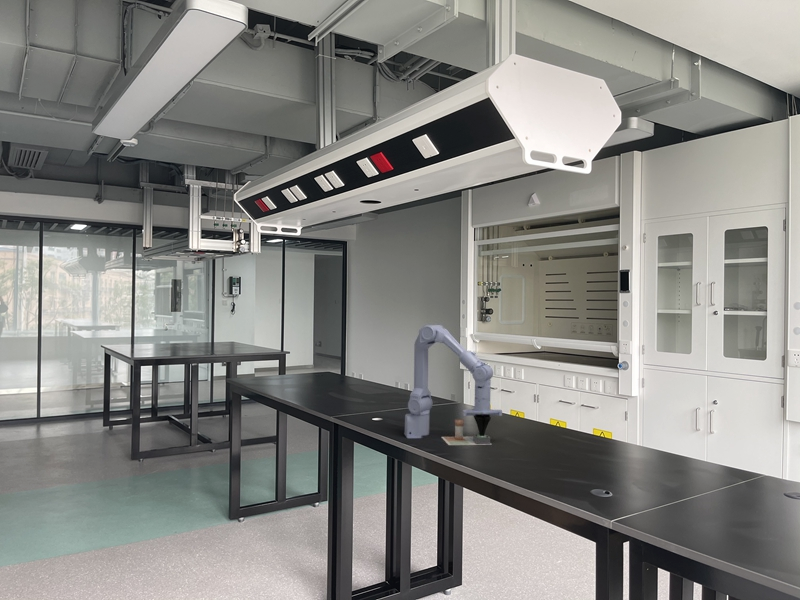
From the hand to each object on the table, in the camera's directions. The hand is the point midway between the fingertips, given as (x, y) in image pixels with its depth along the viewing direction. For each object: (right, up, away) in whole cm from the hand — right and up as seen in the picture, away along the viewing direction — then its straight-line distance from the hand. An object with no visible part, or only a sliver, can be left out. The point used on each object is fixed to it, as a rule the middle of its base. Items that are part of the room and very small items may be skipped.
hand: (481, 435), depth 210 cm
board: (-6, -4, +3) cm, 7 cm away
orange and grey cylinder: (-8, -2, +5) cm, 10 cm away
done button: (0, -2, 0) cm, 2 cm away
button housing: (0, -3, 0) cm, 3 cm away
